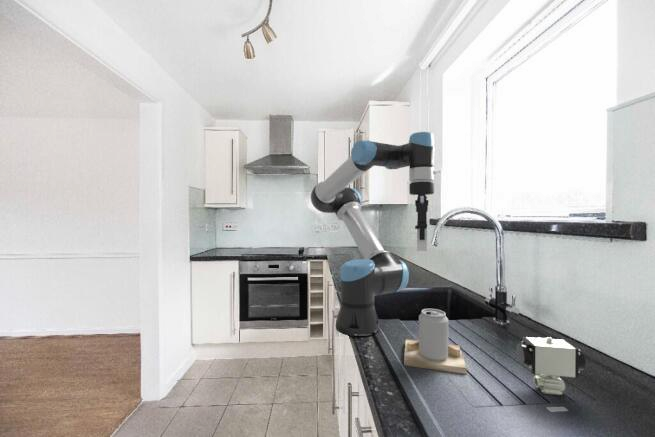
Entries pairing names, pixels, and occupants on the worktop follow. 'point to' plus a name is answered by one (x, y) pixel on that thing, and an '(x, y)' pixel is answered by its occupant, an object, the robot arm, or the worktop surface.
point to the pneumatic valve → (550, 362)
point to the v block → (448, 364)
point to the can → (433, 334)
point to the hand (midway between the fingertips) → (421, 248)
